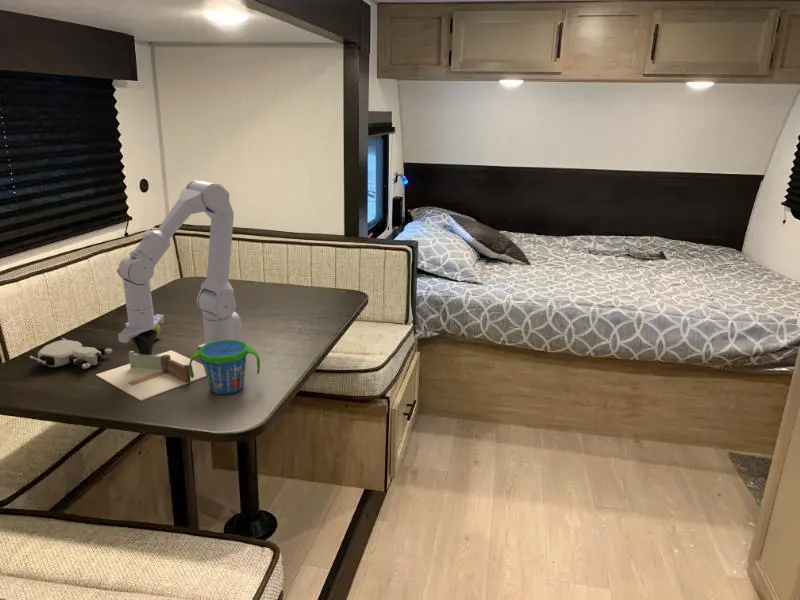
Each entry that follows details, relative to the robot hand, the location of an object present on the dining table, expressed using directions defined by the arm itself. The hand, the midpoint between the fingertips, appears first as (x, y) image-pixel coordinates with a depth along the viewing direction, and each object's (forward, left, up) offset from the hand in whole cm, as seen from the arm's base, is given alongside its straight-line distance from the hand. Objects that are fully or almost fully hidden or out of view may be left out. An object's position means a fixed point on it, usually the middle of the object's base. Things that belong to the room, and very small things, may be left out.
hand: (146, 359), depth 150 cm
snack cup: (-6, +24, -3) cm, 24 cm away
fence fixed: (-2, +10, -2) cm, 10 cm away
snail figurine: (-11, -17, -3) cm, 21 cm away
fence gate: (+1, +1, -2) cm, 2 cm away
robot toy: (+10, -16, -3) cm, 19 cm away
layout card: (0, +5, -3) cm, 5 cm away
